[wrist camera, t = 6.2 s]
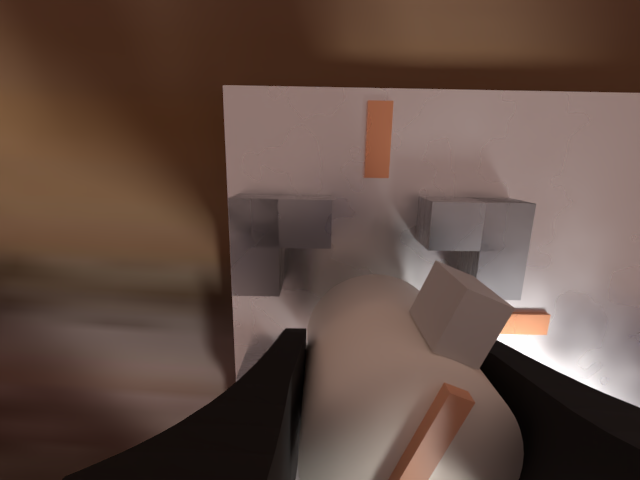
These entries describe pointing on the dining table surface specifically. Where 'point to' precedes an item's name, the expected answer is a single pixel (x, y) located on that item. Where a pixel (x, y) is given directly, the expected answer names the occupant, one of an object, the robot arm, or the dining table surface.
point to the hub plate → (442, 211)
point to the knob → (406, 383)
